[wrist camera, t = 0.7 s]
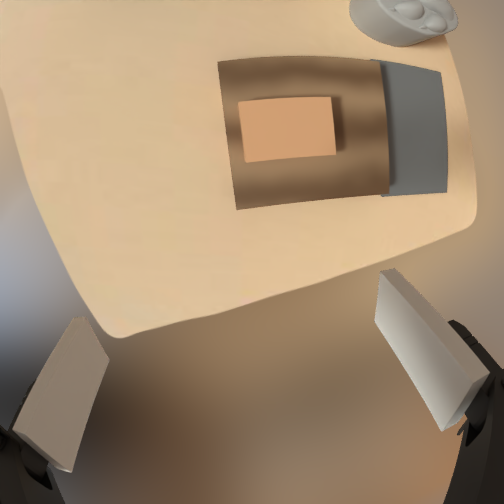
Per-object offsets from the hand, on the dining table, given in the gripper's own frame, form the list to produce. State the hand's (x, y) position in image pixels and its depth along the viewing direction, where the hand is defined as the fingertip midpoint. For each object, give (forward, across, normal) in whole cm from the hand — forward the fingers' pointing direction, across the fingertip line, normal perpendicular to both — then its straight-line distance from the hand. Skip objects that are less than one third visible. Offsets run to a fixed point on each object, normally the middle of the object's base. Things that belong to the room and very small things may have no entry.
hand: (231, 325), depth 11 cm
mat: (+23, +25, +6) cm, 35 cm away
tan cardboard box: (+20, +7, +7) cm, 22 cm away
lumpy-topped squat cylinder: (+24, +24, +23) cm, 41 cm away
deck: (+23, +10, +7) cm, 26 cm away
